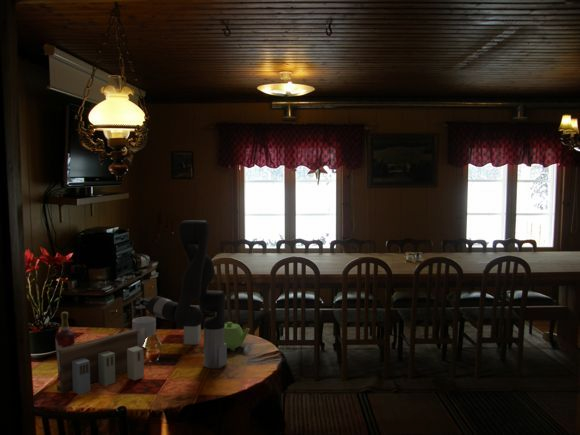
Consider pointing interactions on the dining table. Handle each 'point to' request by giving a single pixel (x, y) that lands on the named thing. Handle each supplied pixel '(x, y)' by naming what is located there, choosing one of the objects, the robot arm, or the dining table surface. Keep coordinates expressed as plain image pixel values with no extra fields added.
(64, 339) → the liquor
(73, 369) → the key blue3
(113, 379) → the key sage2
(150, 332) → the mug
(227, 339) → the teapot
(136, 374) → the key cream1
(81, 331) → the dining table surface
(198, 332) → the milk carton
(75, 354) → the backboard
